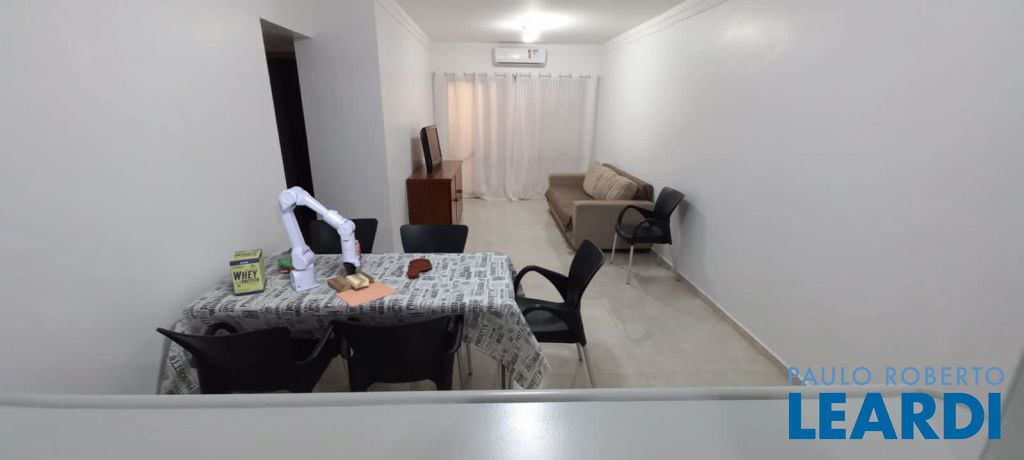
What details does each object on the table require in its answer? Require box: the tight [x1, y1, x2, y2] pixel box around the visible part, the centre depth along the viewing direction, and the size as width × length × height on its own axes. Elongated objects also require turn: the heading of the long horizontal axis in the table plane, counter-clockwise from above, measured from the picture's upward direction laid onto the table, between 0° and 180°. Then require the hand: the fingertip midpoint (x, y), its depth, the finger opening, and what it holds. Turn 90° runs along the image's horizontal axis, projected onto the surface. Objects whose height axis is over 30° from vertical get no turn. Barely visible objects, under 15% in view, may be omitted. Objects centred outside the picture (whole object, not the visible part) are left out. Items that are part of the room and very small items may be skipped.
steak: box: [406, 257, 433, 280], centre depth 199 cm, size 12×20×4 cm, turn 176°
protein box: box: [228, 248, 268, 297], centre depth 179 cm, size 10×16×16 cm
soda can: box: [355, 239, 362, 263], centre depth 210 cm, size 7×7×12 cm
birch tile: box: [346, 273, 369, 289], centre depth 180 cm, size 6×9×2 cm, turn 45°
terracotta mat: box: [335, 281, 398, 307], centre depth 176 cm, size 20×16×1 cm
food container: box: [276, 247, 295, 275], centre depth 201 cm, size 12×6×10 cm, turn 179°
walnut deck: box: [326, 270, 375, 294], centre depth 186 cm, size 16×13×2 cm
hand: (352, 277), depth 184 cm, fingers closed
